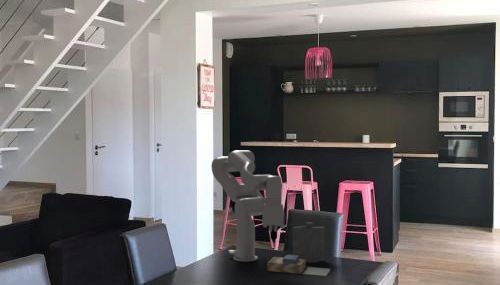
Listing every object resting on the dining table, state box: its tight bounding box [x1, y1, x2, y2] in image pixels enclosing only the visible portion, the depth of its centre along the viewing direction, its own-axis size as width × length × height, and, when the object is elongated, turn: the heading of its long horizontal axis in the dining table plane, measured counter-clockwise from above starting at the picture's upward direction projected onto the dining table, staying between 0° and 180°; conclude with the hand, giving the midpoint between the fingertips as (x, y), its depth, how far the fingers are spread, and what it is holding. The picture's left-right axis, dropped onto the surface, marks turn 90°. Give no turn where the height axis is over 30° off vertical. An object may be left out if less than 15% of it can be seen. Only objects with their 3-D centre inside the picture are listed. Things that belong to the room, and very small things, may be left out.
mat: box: [301, 266, 331, 277], centre depth 254 cm, size 11×13×1 cm
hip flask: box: [292, 221, 326, 263], centre depth 274 cm, size 16×4×20 cm, turn 94°
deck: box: [266, 256, 307, 275], centre depth 258 cm, size 16×12×4 cm
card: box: [282, 254, 299, 264], centre depth 258 cm, size 6×9×2 cm, turn 163°
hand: (273, 239), depth 260 cm, fingers closed
